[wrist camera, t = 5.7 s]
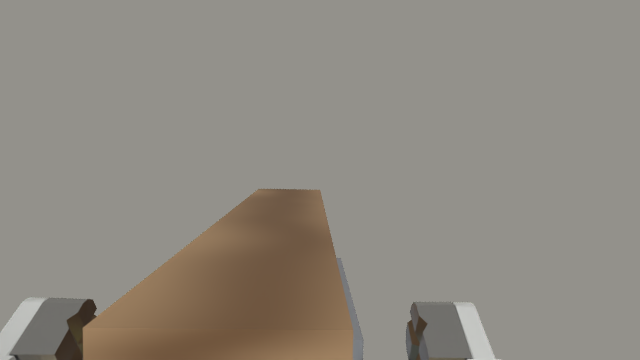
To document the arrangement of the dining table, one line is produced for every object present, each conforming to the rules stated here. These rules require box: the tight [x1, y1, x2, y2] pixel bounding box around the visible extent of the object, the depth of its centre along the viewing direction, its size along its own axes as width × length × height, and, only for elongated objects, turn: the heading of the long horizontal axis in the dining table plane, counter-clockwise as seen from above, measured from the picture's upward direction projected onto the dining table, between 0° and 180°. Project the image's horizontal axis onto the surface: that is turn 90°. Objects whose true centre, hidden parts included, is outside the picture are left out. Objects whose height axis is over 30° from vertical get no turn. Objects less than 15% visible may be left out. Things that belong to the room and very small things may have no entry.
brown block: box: [83, 189, 353, 360], centre depth 18 cm, size 4×22×4 cm, turn 1°
